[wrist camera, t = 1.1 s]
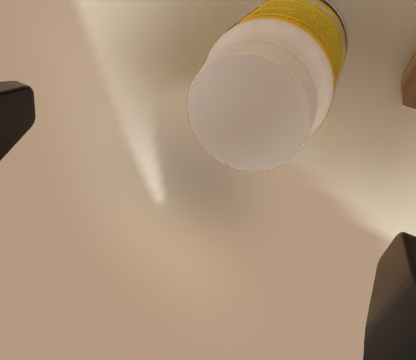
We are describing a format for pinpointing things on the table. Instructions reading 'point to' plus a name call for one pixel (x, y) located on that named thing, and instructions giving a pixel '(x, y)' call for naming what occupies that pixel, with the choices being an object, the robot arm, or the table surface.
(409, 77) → the holder
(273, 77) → the supplement bottle
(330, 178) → the table surface
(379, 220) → the table surface
